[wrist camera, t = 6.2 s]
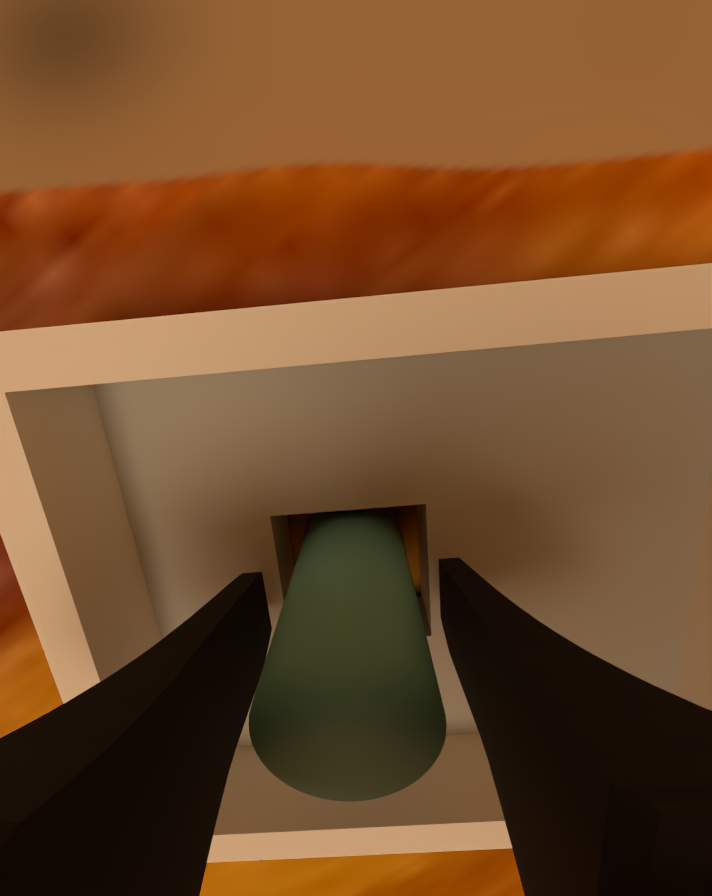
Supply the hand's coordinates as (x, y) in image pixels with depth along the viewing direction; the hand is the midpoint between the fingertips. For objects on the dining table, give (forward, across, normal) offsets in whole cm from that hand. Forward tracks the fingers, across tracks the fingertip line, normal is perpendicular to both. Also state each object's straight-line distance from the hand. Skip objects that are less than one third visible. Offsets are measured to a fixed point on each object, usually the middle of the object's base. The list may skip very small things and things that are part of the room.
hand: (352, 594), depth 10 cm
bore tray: (+3, -2, 0) cm, 3 cm away
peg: (+3, 0, 0) cm, 3 cm away
